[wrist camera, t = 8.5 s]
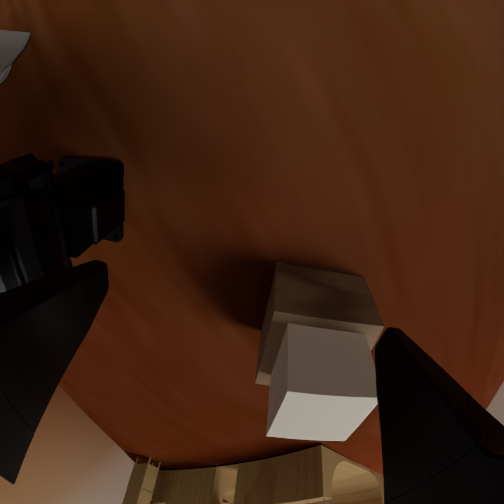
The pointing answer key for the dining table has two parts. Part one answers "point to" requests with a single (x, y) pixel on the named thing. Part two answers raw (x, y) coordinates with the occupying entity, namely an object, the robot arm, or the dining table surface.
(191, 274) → the dining table surface
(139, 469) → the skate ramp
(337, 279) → the walnut block
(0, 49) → the tall pale column
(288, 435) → the cream block
